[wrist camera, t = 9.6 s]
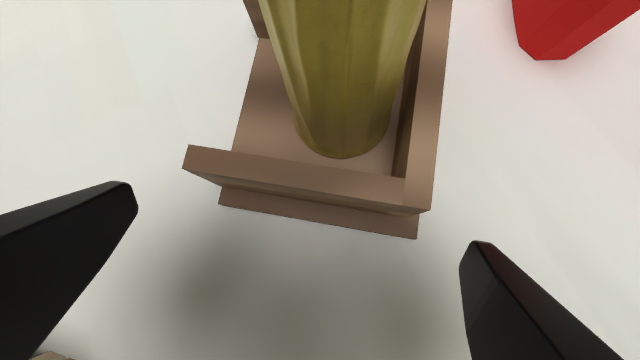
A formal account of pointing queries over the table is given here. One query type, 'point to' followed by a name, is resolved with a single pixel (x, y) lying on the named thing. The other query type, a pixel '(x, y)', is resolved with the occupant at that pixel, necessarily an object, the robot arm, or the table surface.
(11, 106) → the table surface
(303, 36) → the vase
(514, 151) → the table surface
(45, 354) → the block tower
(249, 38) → the table surface
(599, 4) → the french fries
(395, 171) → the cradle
